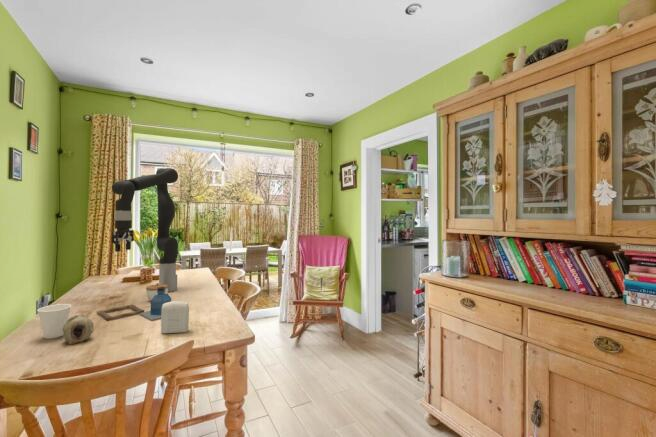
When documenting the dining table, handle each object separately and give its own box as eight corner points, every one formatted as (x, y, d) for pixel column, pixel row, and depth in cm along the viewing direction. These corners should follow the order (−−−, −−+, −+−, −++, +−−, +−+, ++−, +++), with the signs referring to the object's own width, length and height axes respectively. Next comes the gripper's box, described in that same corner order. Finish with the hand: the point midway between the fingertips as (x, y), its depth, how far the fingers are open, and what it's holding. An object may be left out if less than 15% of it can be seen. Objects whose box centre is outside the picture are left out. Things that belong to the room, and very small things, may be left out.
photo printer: (189, 329, 129) (190, 299, 129) (187, 332, 125) (187, 302, 125) (162, 330, 127) (162, 300, 127) (159, 334, 123) (159, 303, 123)
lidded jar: (156, 303, 164) (156, 286, 164) (141, 301, 168) (141, 284, 167) (172, 298, 174) (172, 282, 174) (157, 296, 178) (158, 280, 178)
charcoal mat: (169, 307, 157) (169, 306, 157) (182, 313, 149) (182, 312, 149) (138, 314, 147) (138, 313, 147) (151, 321, 138) (151, 319, 138)
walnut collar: (132, 306, 158) (132, 304, 158) (144, 312, 149) (144, 310, 149) (96, 313, 147) (96, 311, 146) (107, 321, 137) (107, 318, 137)
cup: (32, 343, 113) (32, 313, 113) (42, 333, 122) (42, 305, 122) (67, 338, 118) (67, 309, 118) (74, 329, 127) (74, 302, 126)
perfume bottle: (170, 310, 151) (171, 286, 150) (163, 315, 144) (163, 289, 144) (158, 310, 151) (158, 285, 151) (150, 314, 145) (150, 288, 145)
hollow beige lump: (63, 348, 114) (53, 323, 114) (88, 336, 122) (79, 313, 122) (77, 345, 111) (67, 319, 110) (102, 333, 118) (92, 308, 118)
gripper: (121, 219, 155) (121, 252, 155) (138, 219, 169) (138, 249, 169) (106, 219, 155) (106, 252, 155) (124, 219, 169) (124, 249, 169)
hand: (123, 250), depth 162 cm, fingers open, 8 cm apart
